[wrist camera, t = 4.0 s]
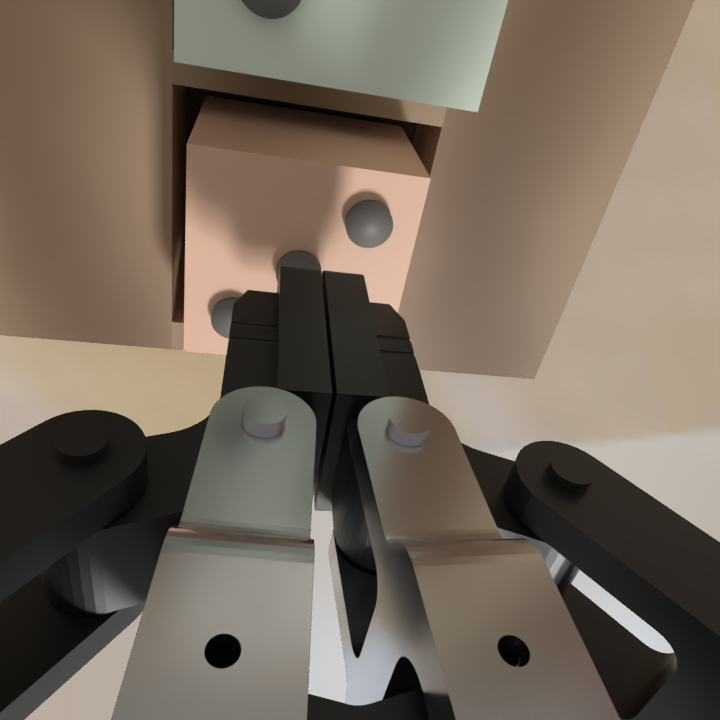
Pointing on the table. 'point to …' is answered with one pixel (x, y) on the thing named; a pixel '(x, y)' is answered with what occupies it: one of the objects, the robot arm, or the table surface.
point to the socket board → (434, 123)
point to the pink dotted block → (292, 207)
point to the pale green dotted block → (349, 44)
